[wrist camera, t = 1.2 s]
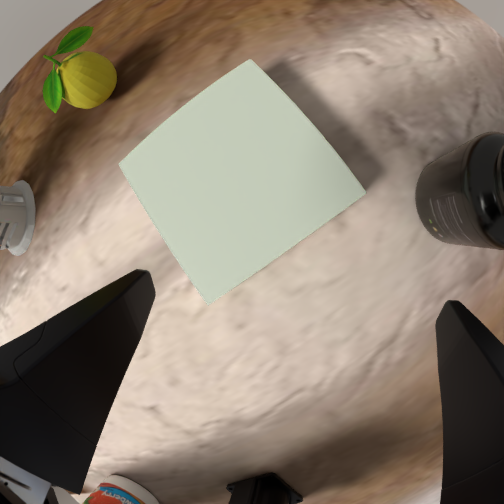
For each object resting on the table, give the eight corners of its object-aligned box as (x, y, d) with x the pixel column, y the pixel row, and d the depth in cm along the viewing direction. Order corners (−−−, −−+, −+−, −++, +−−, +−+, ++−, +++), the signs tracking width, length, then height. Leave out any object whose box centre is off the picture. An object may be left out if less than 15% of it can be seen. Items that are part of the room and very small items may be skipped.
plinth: (358, 198, 20) (366, 193, 17) (220, 296, 22) (207, 305, 19) (256, 77, 21) (249, 58, 18) (137, 170, 23) (118, 164, 20)
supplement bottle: (442, 144, 18) (528, 88, 6) (488, 206, 18) (586, 195, 6) (395, 197, 19) (483, 164, 8) (446, 261, 19) (547, 287, 7)
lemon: (129, 57, 23) (73, 11, 13) (140, 92, 23) (75, 45, 13) (82, 92, 24) (21, 60, 14) (89, 129, 24) (18, 101, 14)
